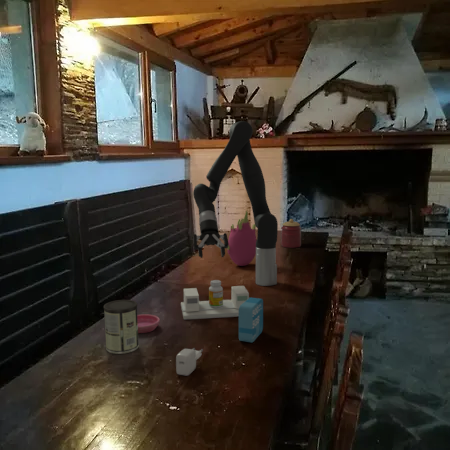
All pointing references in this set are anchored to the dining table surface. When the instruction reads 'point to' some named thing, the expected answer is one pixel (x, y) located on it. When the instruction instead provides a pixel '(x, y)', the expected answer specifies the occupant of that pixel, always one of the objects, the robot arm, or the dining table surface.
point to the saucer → (147, 323)
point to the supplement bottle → (215, 294)
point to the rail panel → (202, 309)
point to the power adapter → (187, 361)
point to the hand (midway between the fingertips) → (212, 256)
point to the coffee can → (121, 326)
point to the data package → (250, 319)
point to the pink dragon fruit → (242, 242)
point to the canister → (291, 234)
